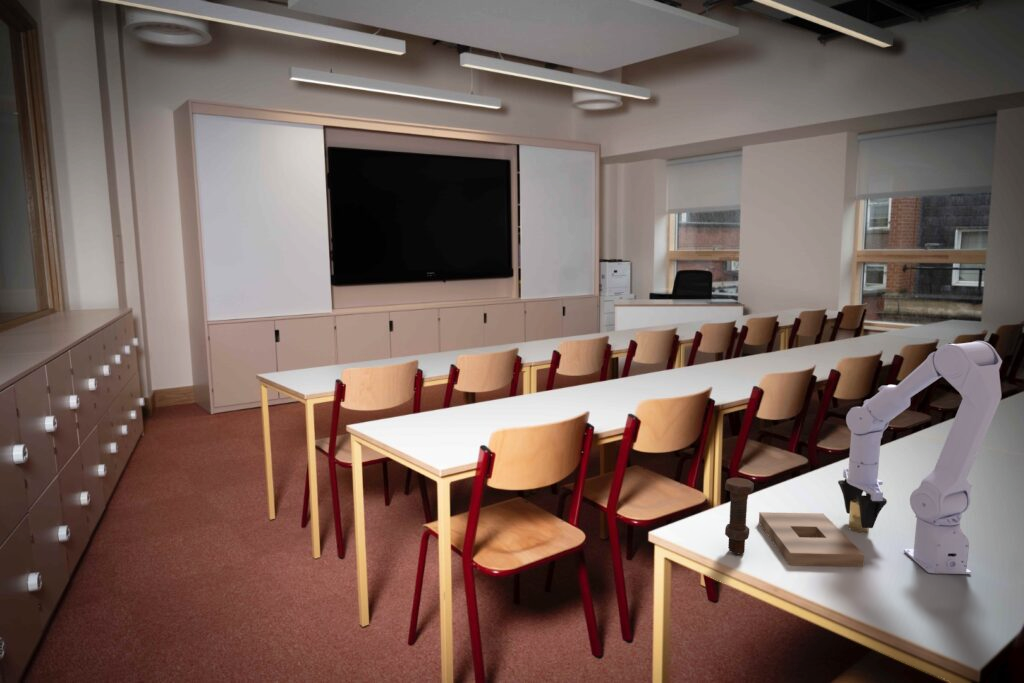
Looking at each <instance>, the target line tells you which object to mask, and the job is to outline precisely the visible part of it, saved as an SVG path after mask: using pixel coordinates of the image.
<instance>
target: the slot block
mask: <svg viewBox="0 0 1024 683" xmlns="http://www.w3.org/2000/svg"><path fill="white" fill-rule="evenodd" d="M758 513H759V514H758V524H759V523H760V524H761V525H760V524H759V525H760V527H761V528H762V527H763V528H764V529H763V528H762V529H763V531H764V530H765V531H766V532H765V531H764V532H765V533H766V534H768V535H769V536H768V535H767V536H768V537H769V539H770V538H771V539H770V540H771V542H772V543H773V542H774V543H773V544H774V545H776V546H775V547H776V548H777V549H779V550H778V551H779V552H780V554H781V555H782V557H783V558H784V559H785V561H786V562H787V564H788V565H789V566H812V567H813V566H815V567H816V566H817V567H820V566H821V567H858V568H859V567H864V561H865V553H864V552H862V551H861V550H860V549H859V548H858V547H857V546H856V545H855V544H854V543H853V542H852V541H851V540H850V539H849V538H848V537H847V536H846V535H845V534H844V532H842V531H841V529H839V528H838V526H837V525H835V524H834V523H833V522H832V521H831V520H830V518H828V516H826V515H825V513H822V512H821V513H818V512H817V513H816V512H815V513H814V512H812V513H811V512H767V511H766V512H765V511H763V512H762V511H760V512H758Z"/></svg>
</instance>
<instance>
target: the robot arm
mask: <svg viewBox="0 0 1024 683" xmlns="http://www.w3.org/2000/svg"><path fill="white" fill-rule="evenodd" d="M1002 363H1003V360H1002V358H1001V356H1000V355H999V354H998V352H997V350H996V349H995V348H994V347H993V346H992V344H990V343H989V342H986V341H984V340H975V341H974V340H973V341H972V342H964V343H946V344H943V345H941V346H940V347H939V348H937V350H936V351H933V352H931V353H930V354H929V355H927V358H926V359H925V360H924V361H922V363H921V364H919V365H918V366H917V367H916V368H915V369H914V370H913V371H912V372H911V373H909V374H908V375H907V376H906V377H905V378H904V379H903V380H902V381H900V382H899V383H898V384H897V385H896V384H888V385H881V386H880V387H878V388H877V391H878V392H877V393H876V394H875V395H874V396H872V397H871V398H869V399H865V400H864V401H863V404H862V406H854V407H851V408H850V409H849V411H848V412H847V414H846V417H845V422H846V425H847V428H848V429H849V430H850V443H849V444H850V445H849V459H848V468H844V469H843V471H842V474H843V475H842V477H843V478H844V479H843V480H842V479H841V480H837V484H838V485H839V488H840V489H841V493H842V497H843V502H844V507H845V512H846V513H847V514H848V515H850V501H851V500H853V499H857V500H858V503H859V507H860V515H861V525H862V527H863V528H869V529H873V528H874V526H875V524H876V521H877V518H878V517H879V514H880V512H881V511H882V509H883V508H884V506H886V505H887V503H888V501H887V499H886V498H885V497H884V492H883V491H882V490H881V486H882V485H883V483H884V482H883V480H882V479H879V478H878V477H879V476H878V475H879V466H880V465H879V464H880V463H879V462H880V450H881V440H882V438H883V434H884V431H885V430H886V429H888V427H889V424H890V421H892V420H893V419H895V418H896V417H897V416H899V415H900V414H901V413H903V412H904V411H906V409H908V408H909V407H910V406H911V401H912V400H911V398H913V396H915V395H916V394H919V392H921V391H922V390H924V389H925V388H927V387H929V386H930V385H931V384H933V383H934V382H936V381H937V380H938V379H940V378H944V379H945V380H946V381H947V382H948V384H950V385H951V386H952V387H953V388H954V389H955V390H956V391H957V392H959V394H960V396H961V398H962V400H961V403H960V404H959V407H958V409H957V412H956V414H955V417H954V419H953V422H952V425H951V427H950V429H949V432H948V434H947V436H946V439H945V442H944V444H943V447H942V449H941V451H940V454H939V457H938V459H937V462H936V464H935V466H934V469H933V470H932V471H931V472H930V473H929V474H927V475H926V477H924V478H923V479H922V480H921V484H920V485H919V487H917V488H916V489H914V490H913V491H912V493H911V494H910V497H909V503H910V508H911V509H912V511H913V513H914V514H915V518H916V522H915V533H914V541H913V542H914V544H913V548H904V550H903V552H904V553H905V554H906V555H908V556H909V557H910V558H911V559H912V560H913V561H914V562H916V563H917V564H918V565H919V566H920V567H921V568H922V569H924V571H925V572H927V573H928V574H944V575H945V574H947V575H948V574H950V575H951V574H952V575H971V574H972V571H971V570H970V569H968V568H967V567H968V561H969V560H968V559H969V550H970V542H969V538H968V537H967V536H966V534H965V533H964V532H963V531H962V529H961V520H962V517H963V516H962V515H963V513H965V512H966V511H967V510H968V509H969V508H970V505H971V498H970V497H971V496H970V493H971V489H972V487H973V484H972V483H971V482H970V481H969V480H968V477H969V475H970V472H971V470H972V467H973V464H974V462H975V460H976V458H977V456H978V453H979V452H980V448H981V446H982V444H983V441H984V439H985V437H986V435H987V432H988V431H989V428H990V425H991V423H992V421H993V419H994V416H995V414H996V412H997V410H998V407H999V404H1000V402H1001V400H1002V387H1001V378H1000V369H1001V365H1002ZM863 493H865V494H864V495H863Z"/></svg>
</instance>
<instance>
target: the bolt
mask: <svg viewBox="0 0 1024 683" xmlns="http://www.w3.org/2000/svg"><path fill="white" fill-rule="evenodd" d="M754 487H755V484H754V482H753V481H751V480H750V479H746V478H742V477H731V478H728V479H726V481H725V484H724V489H725V490H726V491H727V492H729V494H730V495H729V497H730V503H729V504H730V506H729V522H728V523H727V524H726V526H725V531H724V535H725V536H726V537H727V538H728V545H727V546H728V550H729V552H730V551H731V552H730V553H731V554H732V555H734V556H738V555H739V556H741V554H742V555H744V554H745V548H746V547H745V546H746V540H748V539H749V536H750V527H748V526H747V512H748V509H747V508H748V499H749V494H750V495H751V494H753V493H752V492H753V491H754V490H755V488H754Z"/></svg>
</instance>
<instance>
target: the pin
mask: <svg viewBox="0 0 1024 683" xmlns="http://www.w3.org/2000/svg"><path fill="white" fill-rule="evenodd" d="M848 515H849V517H848V518H849V519H848V529H849V528H850V530H851V531H853V530H854V531H853V532H856V531H857V533H862V532H865V533H868V532H870V528H863V527H862V525H861V515H860V507H859V503H858V500H857V499H853V500H851V501H850V514H848ZM867 531H868V532H867Z"/></svg>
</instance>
